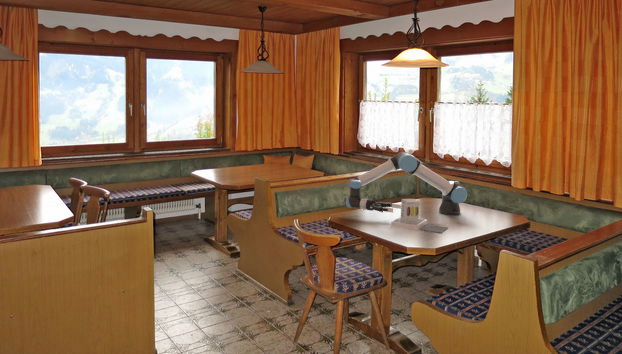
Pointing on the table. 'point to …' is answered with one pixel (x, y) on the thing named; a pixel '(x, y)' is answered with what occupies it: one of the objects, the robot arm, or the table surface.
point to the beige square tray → (408, 226)
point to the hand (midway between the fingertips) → (396, 208)
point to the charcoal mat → (434, 228)
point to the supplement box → (410, 211)
